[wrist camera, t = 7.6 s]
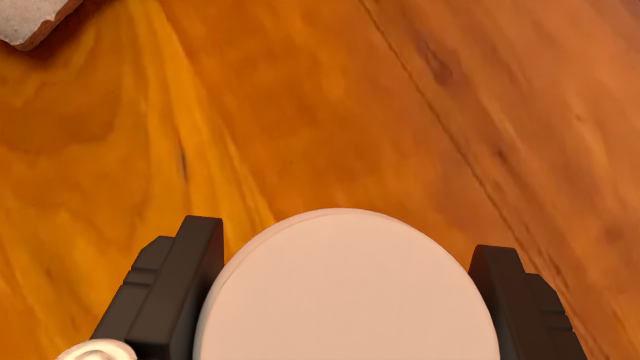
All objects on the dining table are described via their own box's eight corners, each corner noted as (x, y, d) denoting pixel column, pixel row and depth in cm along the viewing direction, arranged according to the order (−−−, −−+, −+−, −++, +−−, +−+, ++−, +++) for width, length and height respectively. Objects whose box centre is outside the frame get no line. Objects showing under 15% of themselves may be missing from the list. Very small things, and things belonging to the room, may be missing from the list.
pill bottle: (346, 482, 15) (395, 734, 6) (204, 357, 16) (50, 405, 7) (455, 327, 16) (643, 333, 7) (318, 218, 17) (320, 93, 8)
